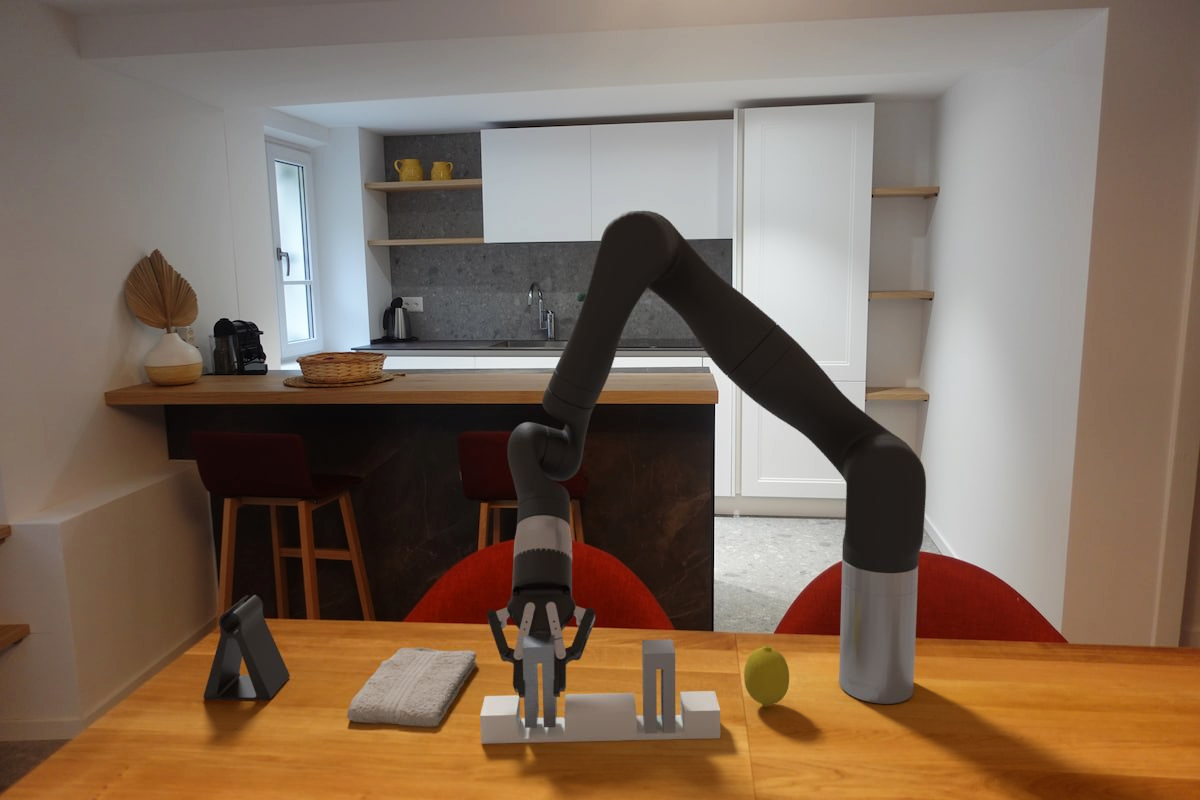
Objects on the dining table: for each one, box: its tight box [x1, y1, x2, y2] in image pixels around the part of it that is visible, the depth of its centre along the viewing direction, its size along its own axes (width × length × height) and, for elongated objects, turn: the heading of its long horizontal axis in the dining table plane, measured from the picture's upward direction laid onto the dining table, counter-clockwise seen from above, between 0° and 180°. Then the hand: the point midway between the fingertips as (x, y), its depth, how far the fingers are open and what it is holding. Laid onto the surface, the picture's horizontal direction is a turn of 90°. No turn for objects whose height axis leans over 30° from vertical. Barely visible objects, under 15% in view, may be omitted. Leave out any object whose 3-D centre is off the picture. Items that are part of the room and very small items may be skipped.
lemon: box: [743, 645, 790, 708], centre depth 101 cm, size 6×6×8 cm
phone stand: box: [202, 594, 291, 701], centre depth 108 cm, size 9×6×12 cm, turn 87°
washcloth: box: [346, 647, 478, 728], centre depth 107 cm, size 12×18×3 cm, turn 173°
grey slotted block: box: [522, 633, 558, 728], centre depth 96 cm, size 4×4×10 cm
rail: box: [479, 638, 721, 745], centre depth 96 cm, size 28×4×10 cm, turn 91°
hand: (539, 694), depth 94 cm, fingers closed on grey slotted block, 3 cm apart
